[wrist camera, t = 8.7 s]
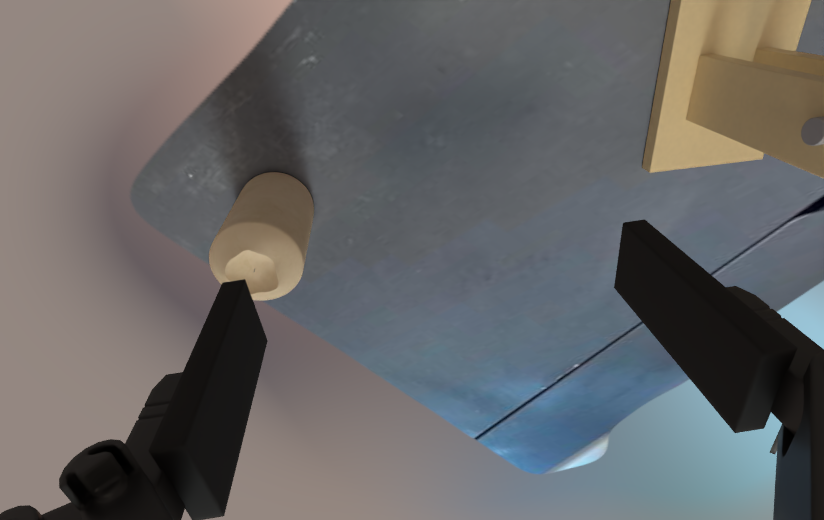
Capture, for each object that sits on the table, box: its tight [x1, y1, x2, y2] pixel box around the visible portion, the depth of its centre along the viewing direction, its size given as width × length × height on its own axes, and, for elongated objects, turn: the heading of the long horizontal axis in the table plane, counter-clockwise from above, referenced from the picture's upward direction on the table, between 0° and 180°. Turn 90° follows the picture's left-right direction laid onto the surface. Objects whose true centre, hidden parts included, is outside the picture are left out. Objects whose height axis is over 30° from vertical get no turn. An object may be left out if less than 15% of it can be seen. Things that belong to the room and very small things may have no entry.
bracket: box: [642, 0, 824, 178], centre depth 28 cm, size 12×9×14 cm
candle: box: [209, 172, 314, 300], centre depth 31 cm, size 6×6×10 cm
